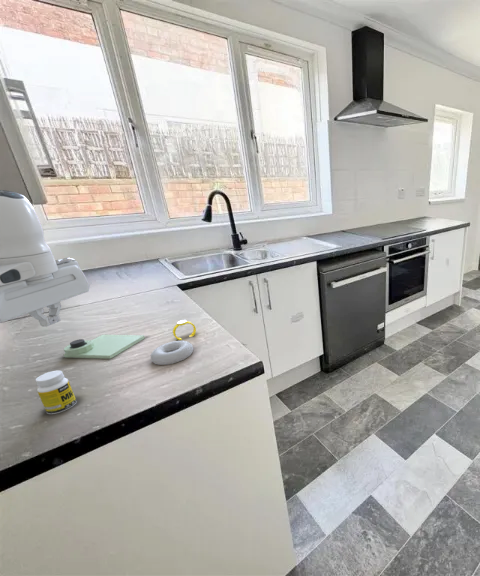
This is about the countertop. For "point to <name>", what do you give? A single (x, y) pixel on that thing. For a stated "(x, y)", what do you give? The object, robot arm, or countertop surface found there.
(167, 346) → the donut
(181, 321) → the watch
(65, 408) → the supplement bottle
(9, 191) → the robot arm
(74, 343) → the button
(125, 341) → the scale
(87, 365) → the countertop surface
